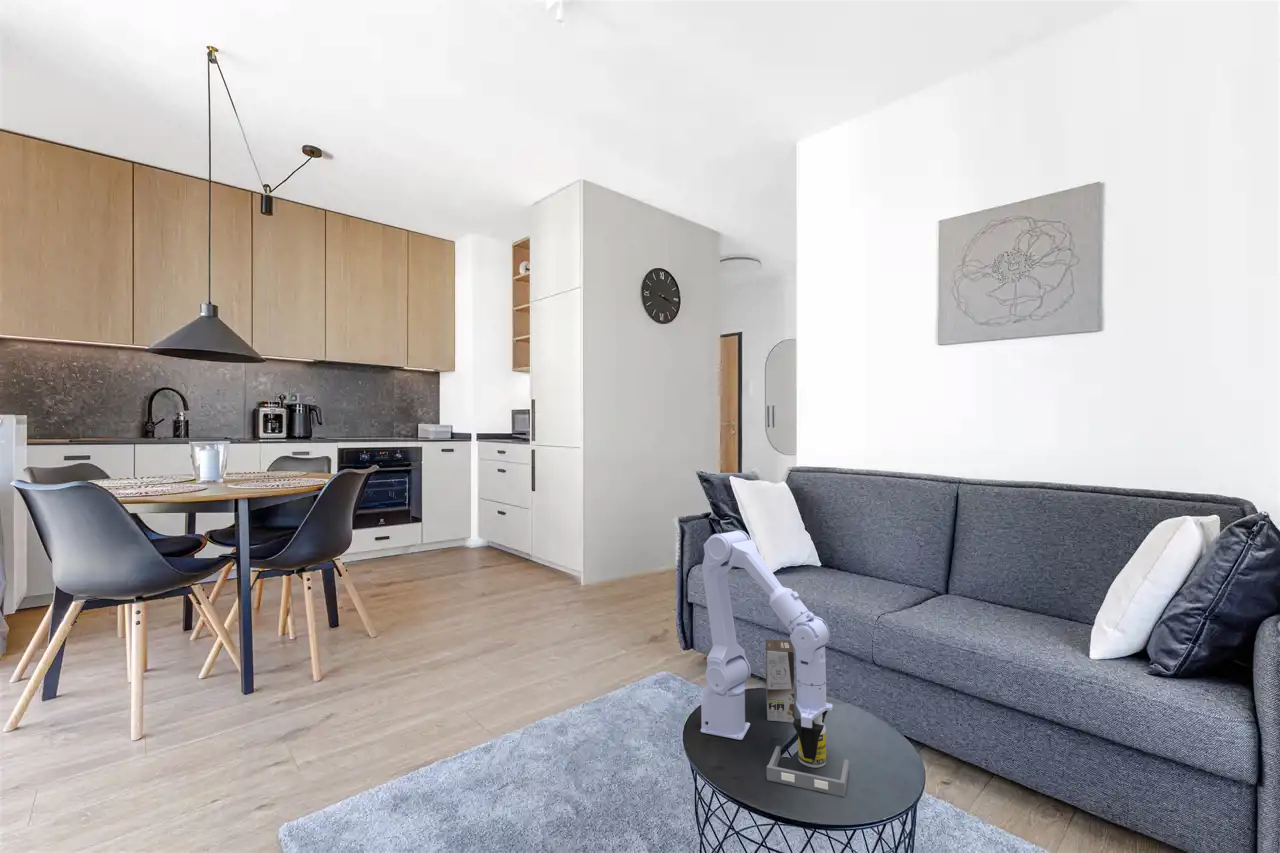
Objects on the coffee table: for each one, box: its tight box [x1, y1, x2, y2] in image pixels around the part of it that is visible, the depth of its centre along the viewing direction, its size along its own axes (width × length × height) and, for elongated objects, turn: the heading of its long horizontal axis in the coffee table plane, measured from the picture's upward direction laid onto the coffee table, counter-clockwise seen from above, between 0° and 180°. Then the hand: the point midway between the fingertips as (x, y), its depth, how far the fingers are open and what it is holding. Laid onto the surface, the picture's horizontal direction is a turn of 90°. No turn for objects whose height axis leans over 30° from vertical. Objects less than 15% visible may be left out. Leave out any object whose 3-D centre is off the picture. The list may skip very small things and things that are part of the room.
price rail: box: [766, 745, 850, 798], centre depth 114 cm, size 14×10×2 cm
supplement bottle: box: [797, 714, 827, 769], centre depth 119 cm, size 5×5×10 cm
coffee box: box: [765, 639, 795, 724], centre depth 141 cm, size 9×6×16 cm
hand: (812, 749), depth 119 cm, fingers open, 7 cm apart
